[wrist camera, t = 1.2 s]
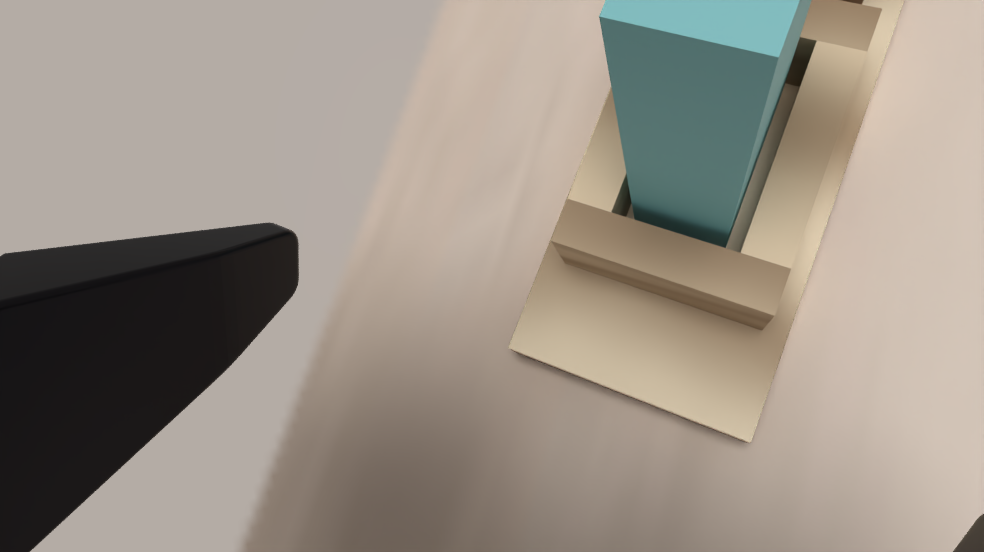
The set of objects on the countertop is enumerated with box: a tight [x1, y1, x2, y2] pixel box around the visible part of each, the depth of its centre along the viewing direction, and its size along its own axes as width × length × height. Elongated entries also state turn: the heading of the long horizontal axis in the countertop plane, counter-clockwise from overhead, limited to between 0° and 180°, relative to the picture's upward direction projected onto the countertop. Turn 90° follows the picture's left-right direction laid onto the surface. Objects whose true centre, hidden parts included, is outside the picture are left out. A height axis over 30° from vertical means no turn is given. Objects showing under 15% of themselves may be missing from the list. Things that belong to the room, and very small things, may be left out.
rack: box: [508, 0, 904, 443], centre depth 20 cm, size 18×7×4 cm, turn 158°
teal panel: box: [599, 0, 812, 248], centre depth 15 cm, size 5×2×11 cm, turn 158°
